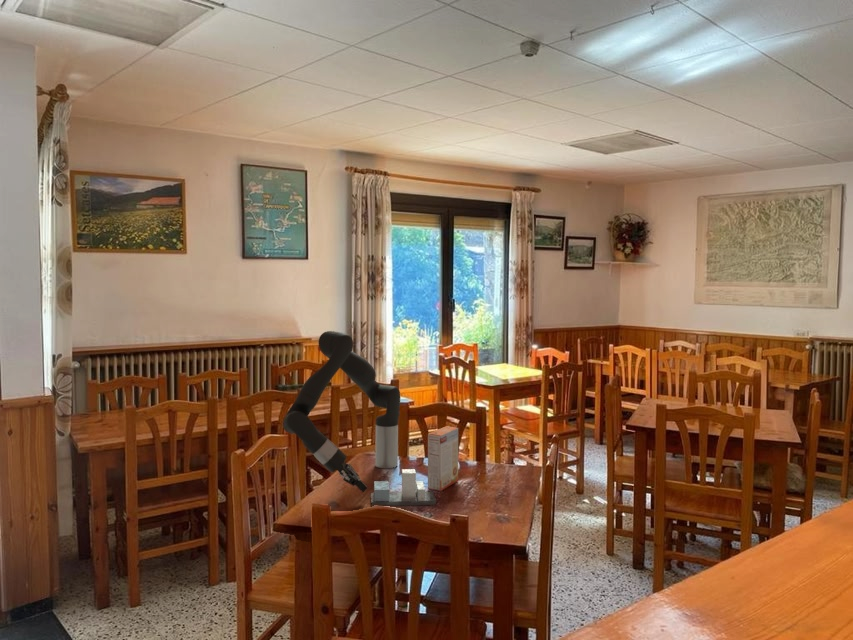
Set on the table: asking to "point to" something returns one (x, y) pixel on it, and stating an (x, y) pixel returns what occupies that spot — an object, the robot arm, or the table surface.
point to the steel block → (408, 484)
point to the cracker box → (442, 458)
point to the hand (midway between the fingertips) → (365, 489)
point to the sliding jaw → (381, 491)
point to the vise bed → (397, 500)
